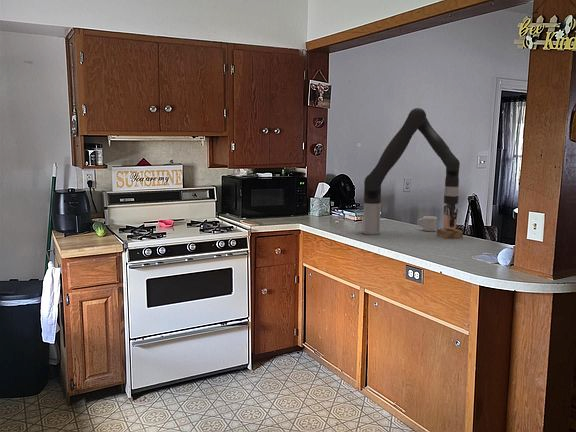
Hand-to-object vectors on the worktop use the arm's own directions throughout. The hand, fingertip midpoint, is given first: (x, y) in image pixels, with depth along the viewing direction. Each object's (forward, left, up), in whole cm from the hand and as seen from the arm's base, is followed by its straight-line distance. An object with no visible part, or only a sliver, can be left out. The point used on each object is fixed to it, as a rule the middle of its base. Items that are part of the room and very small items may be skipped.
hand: (449, 225), depth 292 cm
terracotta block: (0, 0, -1) cm, 1 cm away
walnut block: (0, 0, -6) cm, 6 cm away
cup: (-6, +19, -6) cm, 21 cm away
